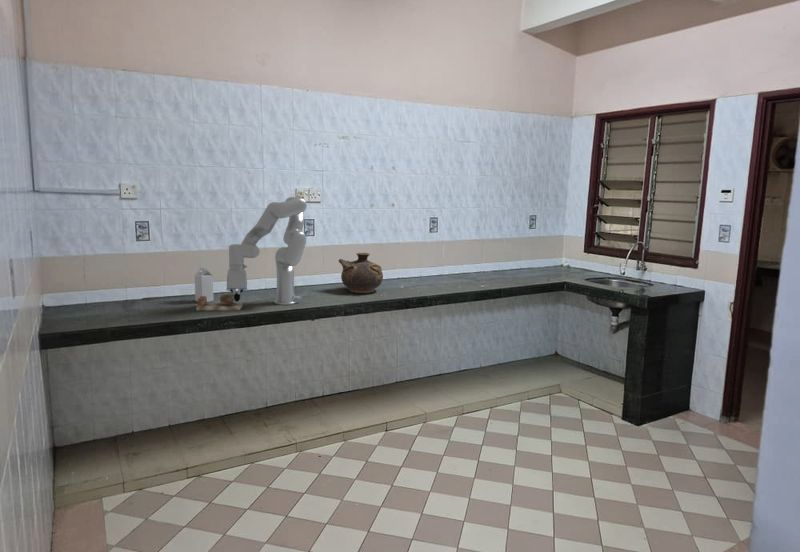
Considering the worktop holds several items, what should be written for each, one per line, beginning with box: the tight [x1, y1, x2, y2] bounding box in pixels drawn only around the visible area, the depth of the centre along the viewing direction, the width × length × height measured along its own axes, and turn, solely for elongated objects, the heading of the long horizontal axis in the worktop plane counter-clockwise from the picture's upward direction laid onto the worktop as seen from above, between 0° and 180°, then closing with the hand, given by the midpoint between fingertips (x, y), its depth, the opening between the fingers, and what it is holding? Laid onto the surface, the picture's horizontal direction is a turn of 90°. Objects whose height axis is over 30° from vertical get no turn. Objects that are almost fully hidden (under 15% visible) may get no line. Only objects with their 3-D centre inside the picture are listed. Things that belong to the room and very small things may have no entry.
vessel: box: [338, 252, 384, 294], centre depth 347 cm, size 27×28×25 cm
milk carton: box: [194, 266, 214, 303], centre depth 304 cm, size 7×7×19 cm
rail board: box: [196, 296, 243, 311], centre depth 290 cm, size 22×11×6 cm, turn 100°
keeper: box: [219, 293, 235, 305], centre depth 290 cm, size 6×6×5 cm
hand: (237, 301), depth 291 cm, fingers closed
